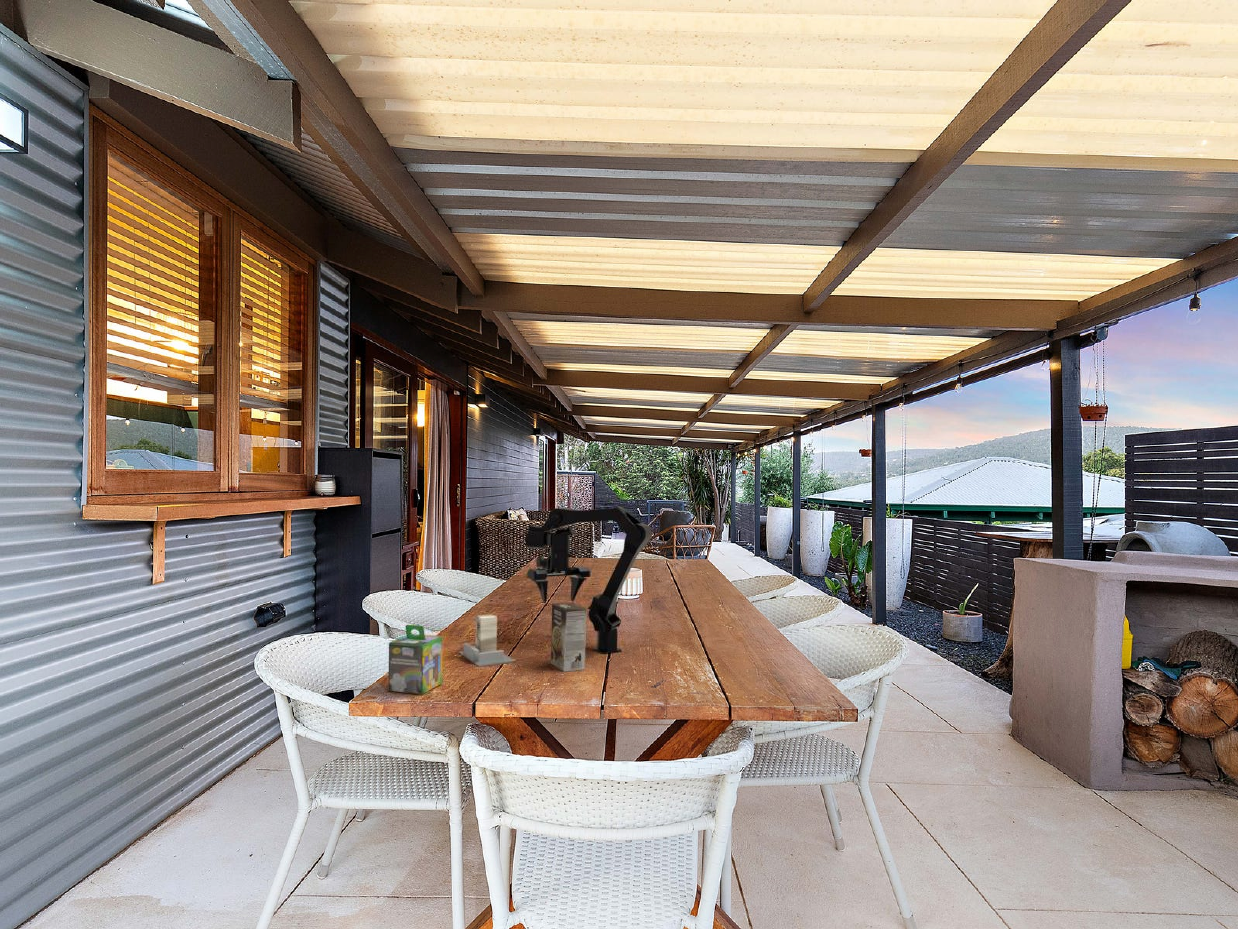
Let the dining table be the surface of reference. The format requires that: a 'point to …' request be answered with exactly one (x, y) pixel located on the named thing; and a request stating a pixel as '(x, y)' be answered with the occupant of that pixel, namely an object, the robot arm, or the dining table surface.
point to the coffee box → (568, 636)
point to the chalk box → (415, 662)
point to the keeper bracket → (485, 656)
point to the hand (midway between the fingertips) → (558, 602)
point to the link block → (486, 633)
